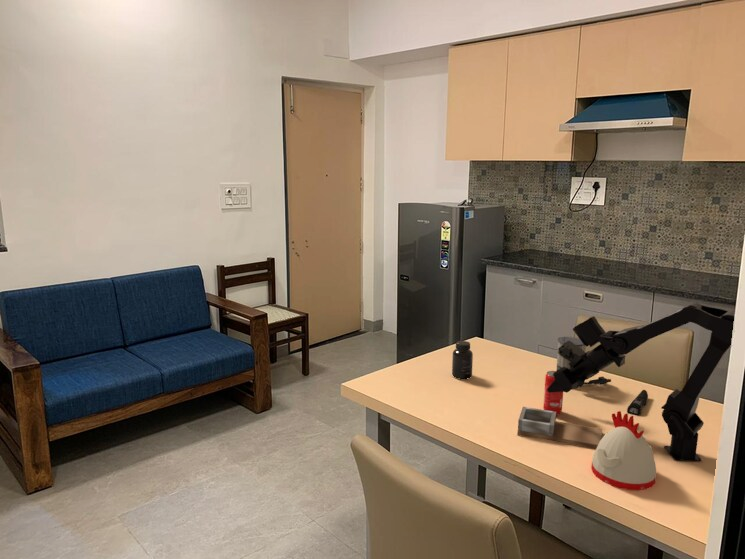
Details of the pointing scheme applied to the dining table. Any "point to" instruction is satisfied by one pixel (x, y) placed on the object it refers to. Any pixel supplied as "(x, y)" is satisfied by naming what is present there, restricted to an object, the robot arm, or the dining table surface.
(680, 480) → the dining table surface
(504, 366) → the dining table surface
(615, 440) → the kitchen timer
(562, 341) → the milk frother
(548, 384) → the beverage can
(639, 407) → the electric trimmer
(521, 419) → the socket board
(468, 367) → the supplement bottle
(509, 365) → the dining table surface
